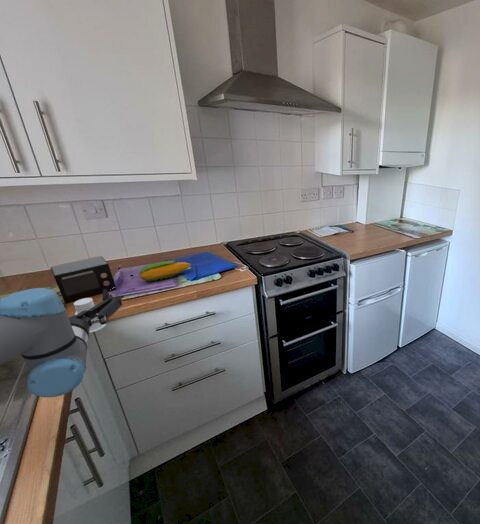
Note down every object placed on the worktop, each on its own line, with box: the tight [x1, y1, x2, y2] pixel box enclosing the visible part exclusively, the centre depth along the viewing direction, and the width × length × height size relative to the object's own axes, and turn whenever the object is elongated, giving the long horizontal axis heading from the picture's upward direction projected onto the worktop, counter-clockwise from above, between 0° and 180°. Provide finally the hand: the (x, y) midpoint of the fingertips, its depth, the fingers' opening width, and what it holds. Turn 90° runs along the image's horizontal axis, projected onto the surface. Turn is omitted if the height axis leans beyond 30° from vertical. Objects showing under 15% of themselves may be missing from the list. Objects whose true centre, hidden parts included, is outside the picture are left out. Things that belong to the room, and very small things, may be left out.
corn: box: [139, 260, 192, 282], centre depth 133 cm, size 7×8×20 cm
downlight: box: [73, 297, 107, 334], centre depth 97 cm, size 8×7×10 cm
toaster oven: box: [50, 255, 117, 304], centre depth 119 cm, size 13×16×12 cm
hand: (74, 300), depth 81 cm, fingers open, 13 cm apart
